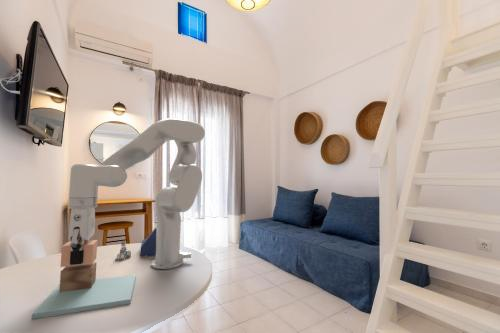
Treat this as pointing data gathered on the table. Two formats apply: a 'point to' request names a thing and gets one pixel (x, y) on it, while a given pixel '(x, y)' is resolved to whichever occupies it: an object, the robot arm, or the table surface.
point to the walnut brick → (77, 277)
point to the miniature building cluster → (123, 252)
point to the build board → (88, 297)
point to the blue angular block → (149, 245)
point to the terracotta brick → (88, 256)
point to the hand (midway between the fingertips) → (79, 260)
